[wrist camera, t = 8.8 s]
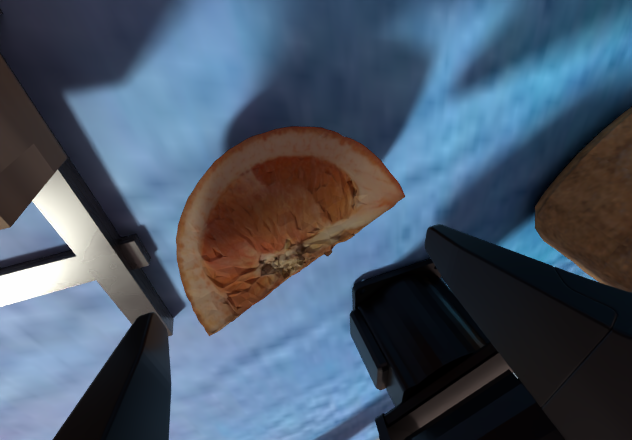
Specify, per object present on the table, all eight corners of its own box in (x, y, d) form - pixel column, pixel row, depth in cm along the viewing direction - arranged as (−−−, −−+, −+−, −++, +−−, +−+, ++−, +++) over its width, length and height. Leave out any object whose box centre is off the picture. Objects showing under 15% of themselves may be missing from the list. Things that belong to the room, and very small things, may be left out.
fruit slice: (246, 279, 16) (263, 366, 12) (134, 201, 12) (107, 296, 8) (374, 186, 15) (435, 247, 11) (304, 65, 11) (364, 98, 7)
